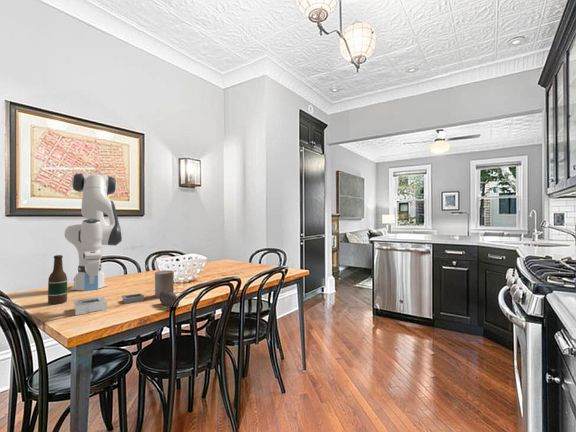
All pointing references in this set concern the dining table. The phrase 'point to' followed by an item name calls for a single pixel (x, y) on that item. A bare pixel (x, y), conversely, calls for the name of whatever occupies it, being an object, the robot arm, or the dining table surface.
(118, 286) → the dining table surface
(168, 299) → the perforated stone tool
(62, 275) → the beer bottle
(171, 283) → the pillar candle
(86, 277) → the plug
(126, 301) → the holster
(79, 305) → the block
